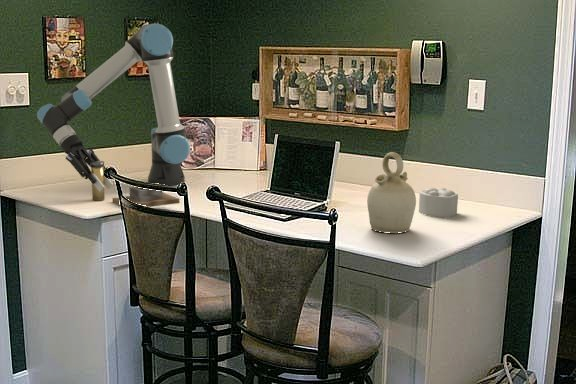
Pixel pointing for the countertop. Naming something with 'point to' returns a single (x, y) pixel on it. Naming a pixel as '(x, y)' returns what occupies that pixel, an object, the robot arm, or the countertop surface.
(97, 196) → the gold cylindrical piece
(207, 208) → the countertop surface
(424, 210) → the lumpy-topped squat cylinder
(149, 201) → the hitch socket board
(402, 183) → the jug
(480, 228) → the countertop surface
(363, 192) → the countertop surface
